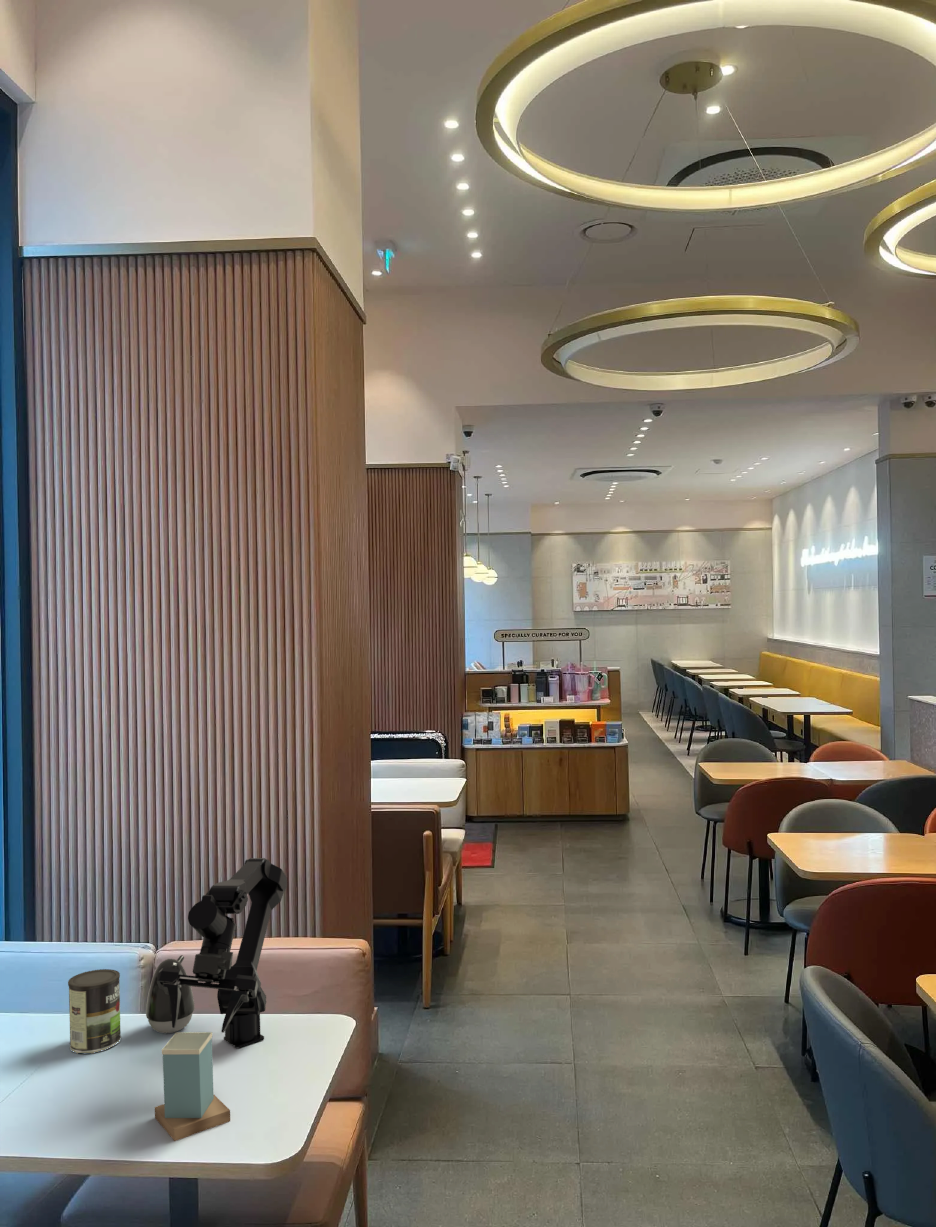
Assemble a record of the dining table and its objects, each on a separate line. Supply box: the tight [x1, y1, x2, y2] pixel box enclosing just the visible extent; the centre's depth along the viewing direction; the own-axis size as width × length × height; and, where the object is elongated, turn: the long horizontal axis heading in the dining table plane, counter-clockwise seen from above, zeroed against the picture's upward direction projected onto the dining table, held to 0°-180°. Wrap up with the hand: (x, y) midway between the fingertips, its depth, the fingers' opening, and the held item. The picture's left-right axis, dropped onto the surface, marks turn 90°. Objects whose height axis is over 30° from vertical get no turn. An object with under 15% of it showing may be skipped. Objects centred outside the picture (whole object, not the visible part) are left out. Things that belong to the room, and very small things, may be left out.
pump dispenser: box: [145, 954, 195, 1034], centre depth 206 cm, size 10×10×15 cm
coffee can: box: [67, 968, 122, 1054], centre depth 199 cm, size 10×10×14 cm
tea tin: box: [161, 1031, 215, 1118], centre depth 166 cm, size 7×7×12 cm
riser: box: [154, 1094, 231, 1142], centre depth 166 cm, size 10×10×2 cm
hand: (198, 1030), depth 176 cm, fingers open, 9 cm apart
